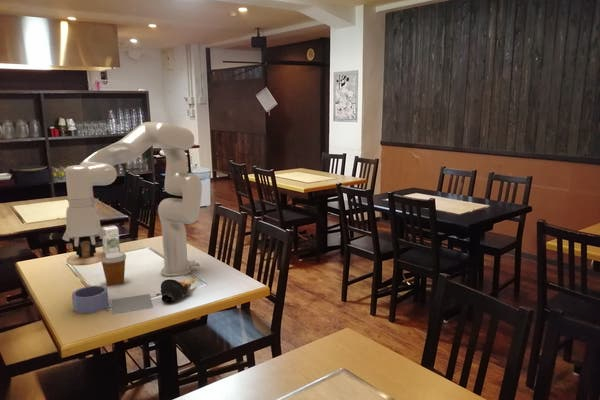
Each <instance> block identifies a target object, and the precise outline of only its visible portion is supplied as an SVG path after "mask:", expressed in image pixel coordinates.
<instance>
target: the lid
mask: <svg viewBox="0 0 600 400" xmlns="http://www.w3.org/2000/svg"><path fill="white" fill-rule="evenodd" d="M79 243H80V248H81V258H79V255H76V253H75V254H72V255H69V256H68V257H67V258H66V264H67V265H70V266H75V267H76V266H91V265H95V264H98V263H102V262H101V261H103V260H105V259H106V254H105V253H103V251H97V250H96V253H94V256H93V257H92V256H91V248H90V245H91V240H90V241H89V240H85V241H81V242H79Z"/></svg>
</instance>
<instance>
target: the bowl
mask: <svg viewBox="0 0 600 400" xmlns="http://www.w3.org/2000/svg"><path fill="white" fill-rule="evenodd" d="M71 299H72V300H71V301H72V309H73V311H74V312H76V313H78V314H92V313H97V312H100V311H103V310H104V309H107V307H108V306H109V290H108V287H106V286H104V285H97V284H96V285H88V286H83V287H81V288H77V289H76V290H74V291H72V292H71Z"/></svg>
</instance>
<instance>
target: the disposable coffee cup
mask: <svg viewBox="0 0 600 400" xmlns="http://www.w3.org/2000/svg"><path fill="white" fill-rule="evenodd" d="M105 254H106V259H105V260H103V261H101V262H100V263H101V264H102V269H103V274H104V277H105V281H106V286H108V287H110V286H119V285H124V284H125V270H126V258H127V255H126V252H124V251H113V252H107V253H105Z"/></svg>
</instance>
